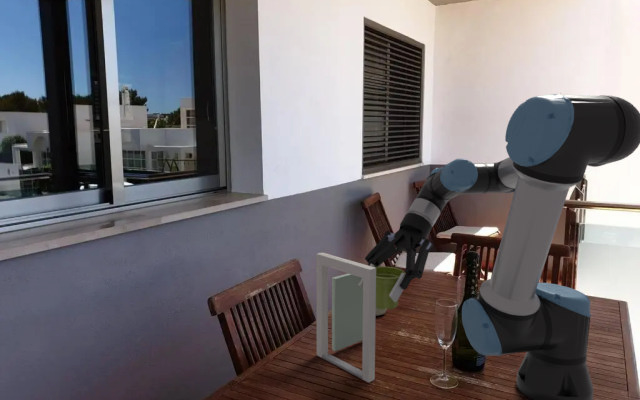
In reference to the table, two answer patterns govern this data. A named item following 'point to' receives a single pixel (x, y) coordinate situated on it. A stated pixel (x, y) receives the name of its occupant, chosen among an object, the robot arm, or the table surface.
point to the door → (346, 311)
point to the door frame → (368, 312)
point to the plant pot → (386, 286)
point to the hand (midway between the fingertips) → (376, 293)
